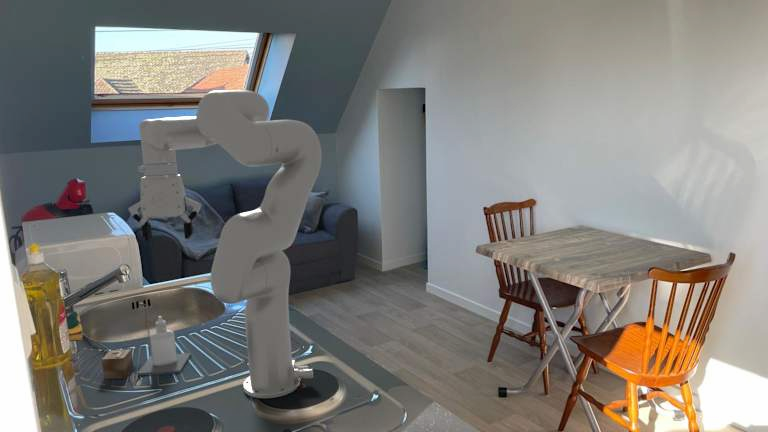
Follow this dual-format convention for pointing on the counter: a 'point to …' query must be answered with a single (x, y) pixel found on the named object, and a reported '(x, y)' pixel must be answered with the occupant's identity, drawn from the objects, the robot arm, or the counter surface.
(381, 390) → the counter surface
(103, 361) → the walnut cube
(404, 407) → the counter surface
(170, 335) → the eye dropper bottle
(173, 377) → the counter surface
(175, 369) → the slate mat
